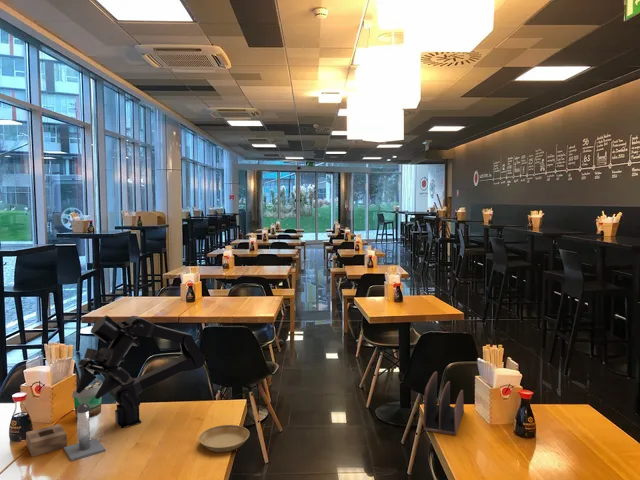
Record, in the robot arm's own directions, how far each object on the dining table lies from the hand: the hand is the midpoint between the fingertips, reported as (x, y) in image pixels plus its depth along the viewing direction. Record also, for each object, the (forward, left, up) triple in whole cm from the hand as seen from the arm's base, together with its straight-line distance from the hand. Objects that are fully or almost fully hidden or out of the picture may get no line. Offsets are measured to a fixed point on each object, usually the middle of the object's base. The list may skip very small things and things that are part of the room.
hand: (86, 395), depth 149 cm
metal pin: (+3, +7, -13) cm, 15 cm away
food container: (-6, -19, -14) cm, 25 cm away
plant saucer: (-31, +29, -14) cm, 44 cm away
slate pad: (+3, +7, -14) cm, 15 cm away
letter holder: (-93, +61, -14) cm, 112 cm away
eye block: (+11, -3, -14) cm, 18 cm away
